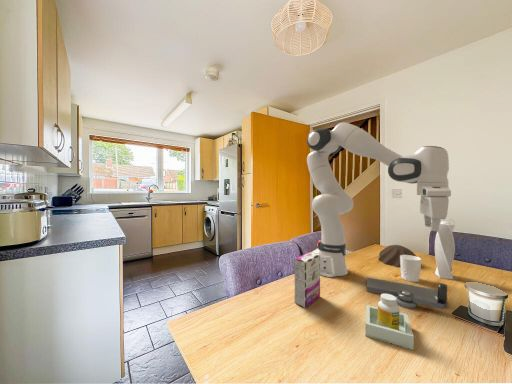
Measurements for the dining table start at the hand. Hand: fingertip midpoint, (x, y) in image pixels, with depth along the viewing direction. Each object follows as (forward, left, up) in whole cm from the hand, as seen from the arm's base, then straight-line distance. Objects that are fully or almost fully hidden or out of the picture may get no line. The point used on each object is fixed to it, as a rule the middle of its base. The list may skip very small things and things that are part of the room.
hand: (431, 228), depth 78 cm
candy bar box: (-40, -20, -27) cm, 52 cm away
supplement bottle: (-15, -26, -27) cm, 40 cm away
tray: (-15, -26, -27) cm, 40 cm away
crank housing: (-8, -1, -27) cm, 28 cm away
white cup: (-3, +21, -27) cm, 35 cm away
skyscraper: (+12, +32, -28) cm, 44 cm away
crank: (-4, -6, -25) cm, 26 cm away
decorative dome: (-5, +45, -28) cm, 53 cm away
